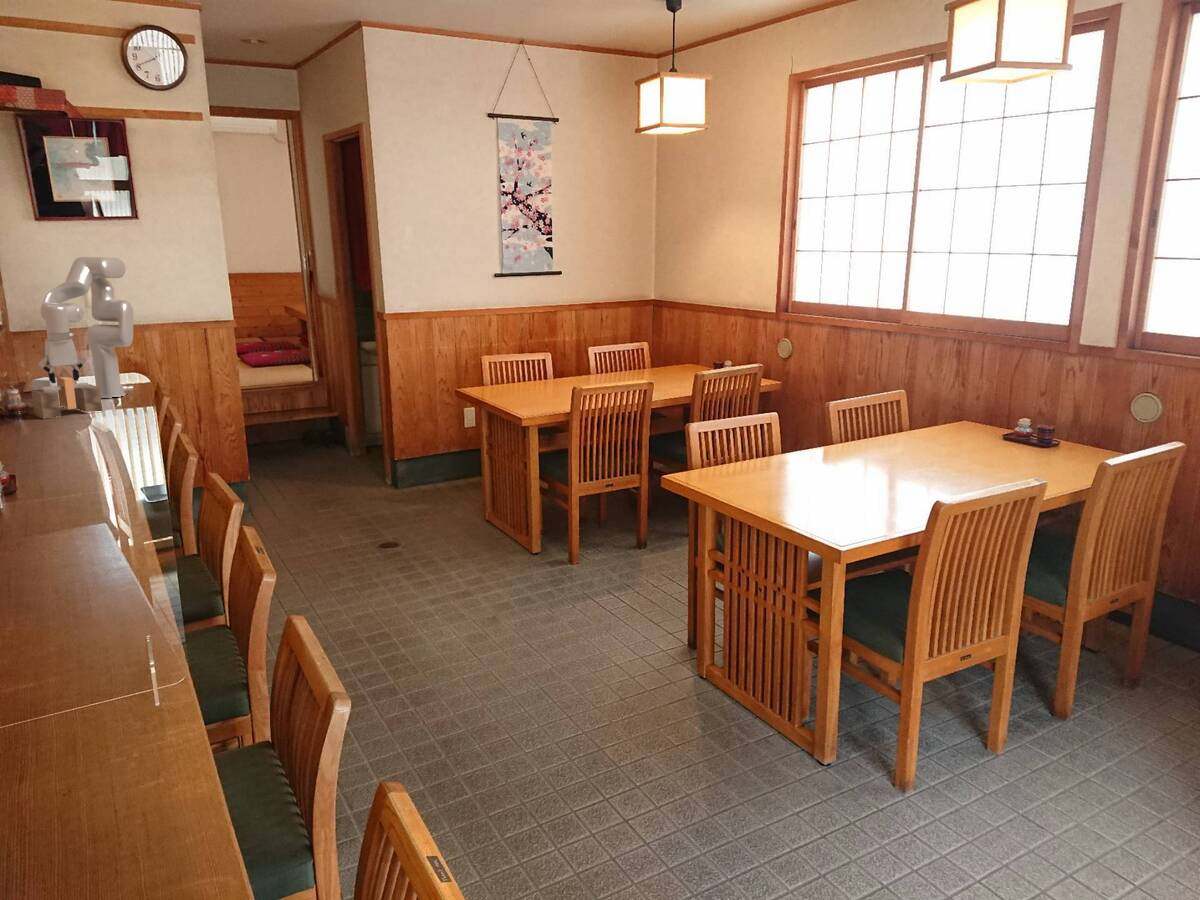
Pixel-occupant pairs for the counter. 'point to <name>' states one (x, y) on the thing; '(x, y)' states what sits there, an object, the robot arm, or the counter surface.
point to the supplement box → (43, 384)
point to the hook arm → (59, 387)
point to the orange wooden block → (66, 392)
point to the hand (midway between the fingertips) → (64, 381)
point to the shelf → (49, 401)
